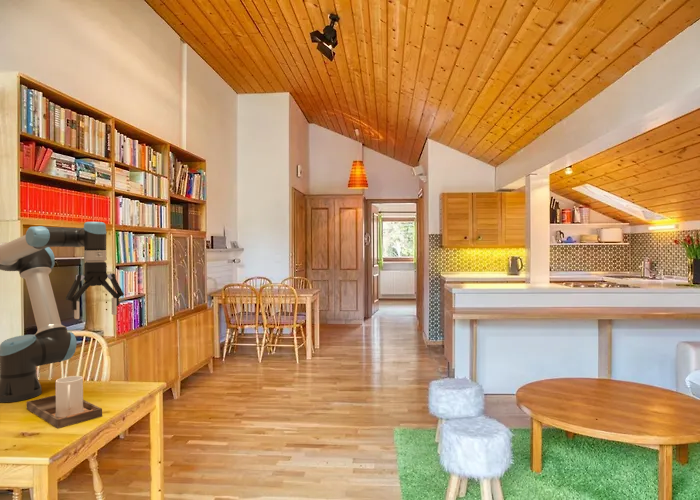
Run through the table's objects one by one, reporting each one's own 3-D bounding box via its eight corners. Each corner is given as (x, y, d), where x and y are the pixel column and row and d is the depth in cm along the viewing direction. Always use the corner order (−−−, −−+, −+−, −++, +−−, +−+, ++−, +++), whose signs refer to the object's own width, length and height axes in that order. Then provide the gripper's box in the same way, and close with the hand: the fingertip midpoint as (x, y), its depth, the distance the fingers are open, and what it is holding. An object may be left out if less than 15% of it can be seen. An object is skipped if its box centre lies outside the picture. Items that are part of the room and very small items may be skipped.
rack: (26, 408, 166) (26, 400, 166) (68, 399, 177) (68, 391, 177) (57, 428, 147) (57, 419, 147) (102, 416, 158) (102, 407, 158)
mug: (81, 418, 153) (80, 382, 153) (51, 423, 150) (50, 386, 150) (85, 408, 164) (85, 374, 164) (57, 411, 161) (57, 377, 161)
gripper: (63, 262, 166) (63, 321, 165) (132, 261, 185) (132, 313, 185) (55, 262, 170) (56, 319, 170) (123, 260, 190) (124, 312, 190)
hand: (96, 316), depth 177 cm, fingers open, 13 cm apart
